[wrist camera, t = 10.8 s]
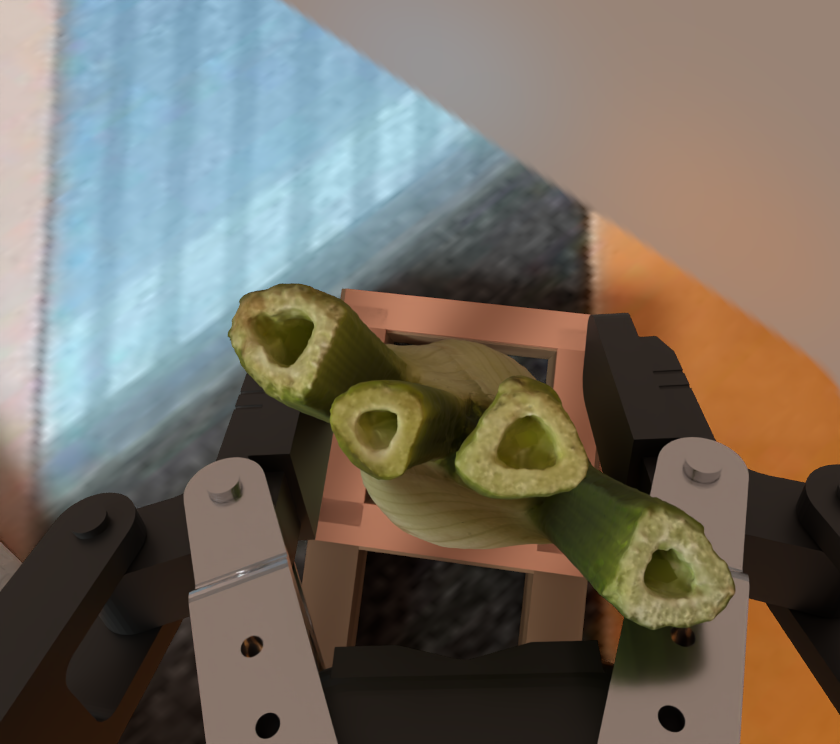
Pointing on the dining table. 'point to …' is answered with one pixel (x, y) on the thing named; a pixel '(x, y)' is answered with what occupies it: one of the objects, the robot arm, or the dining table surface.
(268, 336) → the fennel bulb
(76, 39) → the dining table surface
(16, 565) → the wrench
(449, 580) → the dining table surface
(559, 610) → the brown flat frame piece
